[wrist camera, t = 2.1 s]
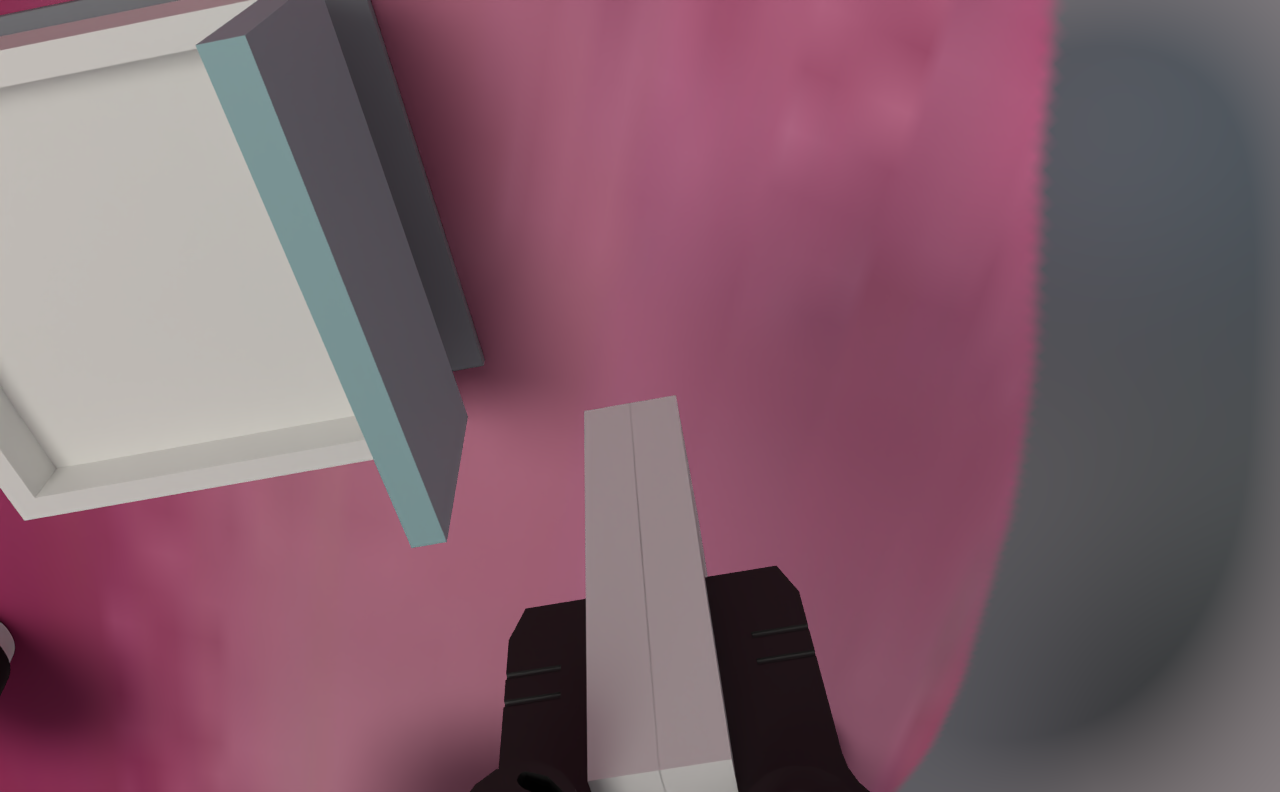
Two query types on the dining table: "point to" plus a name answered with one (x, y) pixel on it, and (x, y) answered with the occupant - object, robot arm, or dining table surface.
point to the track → (390, 139)
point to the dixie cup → (5, 655)
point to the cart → (207, 268)
